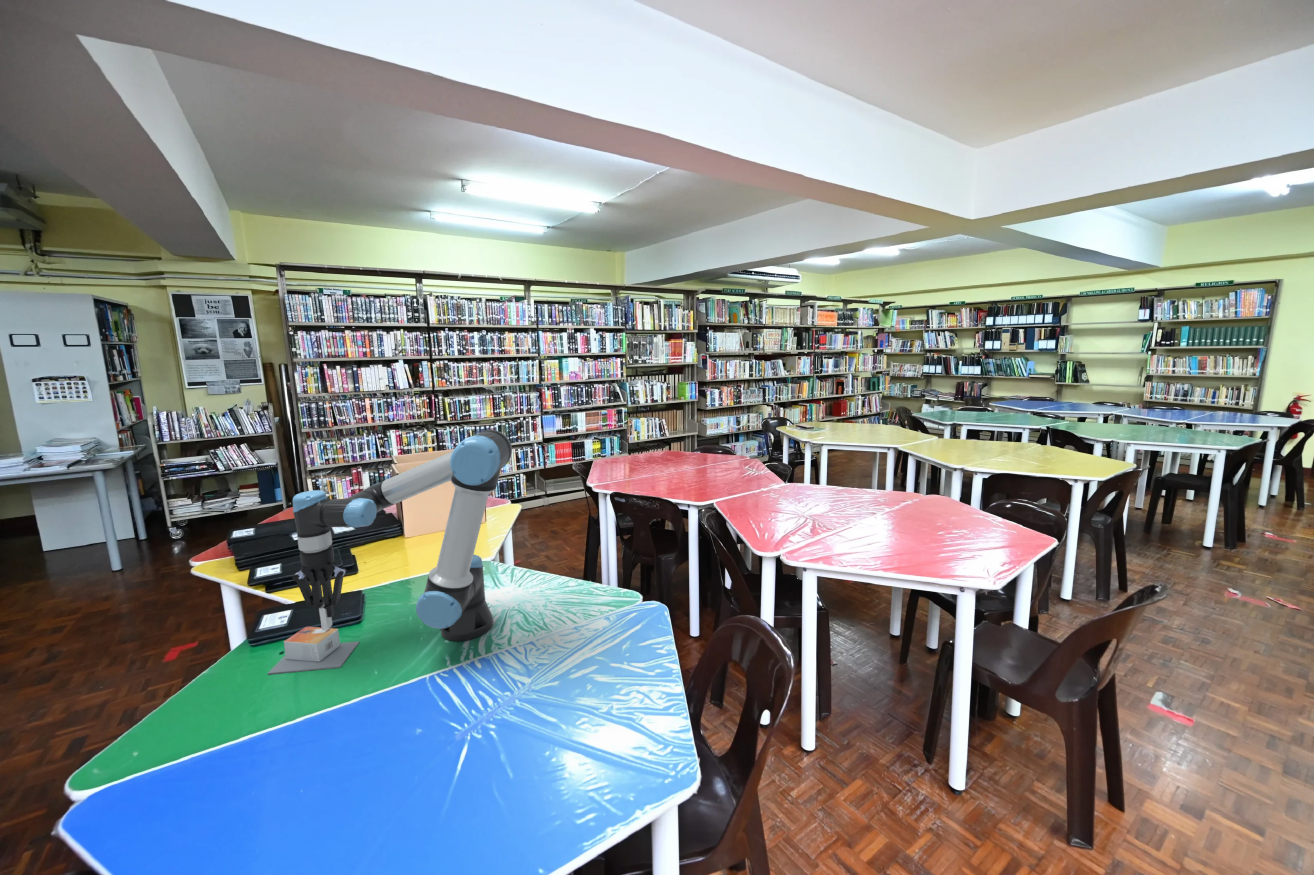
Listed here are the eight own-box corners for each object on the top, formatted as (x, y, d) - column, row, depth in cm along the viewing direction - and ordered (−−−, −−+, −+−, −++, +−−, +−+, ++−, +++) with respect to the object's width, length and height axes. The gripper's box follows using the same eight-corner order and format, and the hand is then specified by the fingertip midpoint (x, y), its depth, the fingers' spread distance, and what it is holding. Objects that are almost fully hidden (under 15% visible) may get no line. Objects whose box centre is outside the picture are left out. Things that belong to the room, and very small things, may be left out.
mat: (359, 642, 148) (359, 641, 148) (340, 667, 136) (340, 666, 136) (293, 648, 145) (292, 647, 145) (267, 674, 134) (267, 673, 133)
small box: (317, 643, 137) (282, 641, 138) (319, 662, 138) (285, 659, 139) (338, 627, 145) (305, 625, 146) (341, 645, 146) (308, 643, 147)
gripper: (348, 541, 140) (358, 618, 144) (297, 544, 138) (309, 622, 142) (335, 551, 133) (346, 632, 137) (281, 555, 131) (294, 637, 135)
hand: (327, 627), depth 140 cm, fingers closed
